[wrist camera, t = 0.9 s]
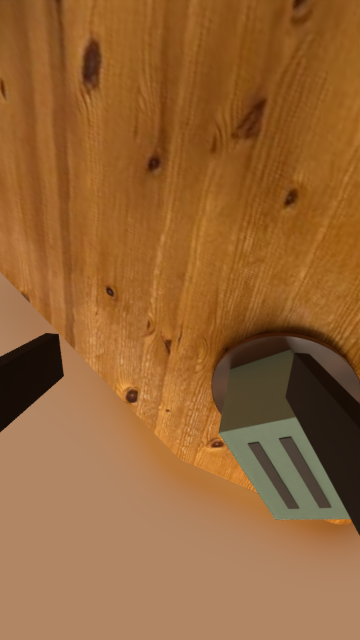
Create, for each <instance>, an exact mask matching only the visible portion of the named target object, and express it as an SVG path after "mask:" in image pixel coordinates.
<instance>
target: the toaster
mask: <svg viewBox="0 0 360 640" xmlns="http://www.w3.org/2000/svg"><path fill="white" fill-rule="evenodd" d="M294 353H307V354H310V355H311V356H312V357H313V358H314V359H315V360H316V361H317V362H318V363H319V364H320V365H321V366H322V367H323V368H324V369H325V370H326V371H327V372H328V373H329V374H330V375H331V376H333V377H334V378H335V379H336V380H337V381H338V382H339V383H340V384H341V385H342V386H343V387H344V388H345V389H346V390H347V391H348V392H349V393H350V394H351V395H352V396H353V397H354V398H355V399H356V400H357V401H358V402H359V403H360V382H359V379H358V377H357V375H356V373H355V371H354V370H353V368H352V367H351V365H350V364H349V363H348V361H347V360H346V359H345V358H344V357H343V356H342V355H341V354H340V353H339V352H338V351H337V350H335V349H334V348H332V347H331V346H329V345H328V344H326V343H324V342H322V341H320V340H317V339H315V338H312V337H310V336H306V335H302V334H297V333H290V332H271V333H263V334H258V335H255V336H252V337H249V338H246V339H244V340H242V341H240V342H238V343H237V344H235V345H233V346H232V347H231V348H230V349H229V350H227V351H226V352H225V353H224V355H223V356H222V357H221V358H220V360H219V361H218V363H217V365H216V368H215V370H214V374H213V378H212V386H211V387H212V395H213V400H214V402H215V405H216V407H217V409H218V411H219V412H220V414H221V415H222V417H221V422H220V428H219V434H220V436H221V437H222V439H223V440H224V442H225V443H226V445H227V446H228V448H229V450H230V451H231V453H232V454H233V456H234V457H235V459H236V460H237V462H238V463H239V465H240V466H241V468H242V469H243V471H244V472H245V474H246V475H247V477H248V479H249V480H250V482H251V483H252V485H253V486H254V488H255V489H256V491H257V492H258V494H259V495H260V497H261V498H262V500H263V501H264V503H265V505H266V506H267V508H268V509H269V511H270V512H271V513H272V515H273V517H274V518H275V519H276V520H292V519H351V518H350V517H349V515H348V513H347V511H346V509H345V507H344V505H343V504H342V502H341V500H340V498H339V496H338V494H337V492H336V491H335V489H334V487H333V485H332V483H331V481H330V479H329V478H328V476H327V474H326V472H325V470H324V468H323V466H322V465H321V463H320V461H319V459H318V457H317V455H316V453H315V452H314V450H313V448H312V446H311V444H310V442H309V440H308V439H307V437H306V435H305V433H304V431H303V429H302V428H301V426H300V424H299V422H298V420H297V418H296V416H295V415H294V413H293V411H292V409H291V407H290V405H289V403H288V402H287V400H286V398H285V396H286V391H287V387H288V382H289V377H290V372H291V367H292V362H293V357H294Z"/></svg>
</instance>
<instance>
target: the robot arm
mask: <svg viewBox="0 0 360 640" xmlns="http://www.w3.org/2000/svg"><path fill="white" fill-rule="evenodd" d="M63 376H64V374H63V367H62V359H61V351H60V342H59V334H51V333H45V334H44V335H41V336H39V337H38V338H36V339H34V340H32V341H30V342H28V343H26V344H24V345H22V346H20V347H18V348H16V349H14V350H12V351H11V352H9V353H7V354H5V355H3V356H1V357H0V432H1V431H2V430H3V429H4V428H6V427H7V426H8V425H9V424H10V423H11V422H12V421H13V420H15V419H16V418H17V417H18V416H19V415H20V414H22V413H23V412H24V411H25V410H26V409H27V408H28V407H29V406H31V404H33V403H34V402H35V401H36V400H37V399H38V398H40V397H41V396H42V395H43V394H44V393H45V392H46V391H48V390H49V389H50V388H51V387H52V386H53V385H54V384H55V383H57V382H58V381H59V380H60V379H61V378H62V377H63ZM285 398H286V400H287V402H288V403H289V405H290V407H291V409H292V411H293V413H294V415H295V416H296V418H297V420H298V422H299V424H300V426H301V428H302V429H303V431H304V433H305V435H306V437H307V439H308V440H309V442H310V444H311V446H312V448H313V450H314V452H315V453H316V455H317V457H318V459H319V461H320V463H321V465H322V466H323V468H324V470H325V472H326V474H327V476H328V478H329V479H330V481H331V483H332V485H333V487H334V489H335V491H336V492H337V494H338V496H339V498H340V500H341V502H342V504H343V505H344V507H345V509H346V511H347V513H348V515H349V517H350V518H351V520H352V522H353V524H354V526H355V528H356V530H357V531H358V533H359V535H360V403H359V402H358V401H357V400H356V399H355V398H354V397H353V396H352V395H351V394H350V393H349V392H348V391H347V390H346V389H345V388H344V387H343V386H342V385H341V384H340V383H339V382H338V381H337V380H336V379H335V378H334V377H333V376H331V375H330V374H329V373H328V372H327V371H326V370H325V369H324V368H323V367H322V366H321V365H320V364H319V363H318V362H317V361H316V360H315V359H314V358H313V357H312V356H311V355H310V354H307V353H294V357H293V362H292V367H291V372H290V377H289V382H288V387H287V391H286V396H285Z"/></svg>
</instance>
